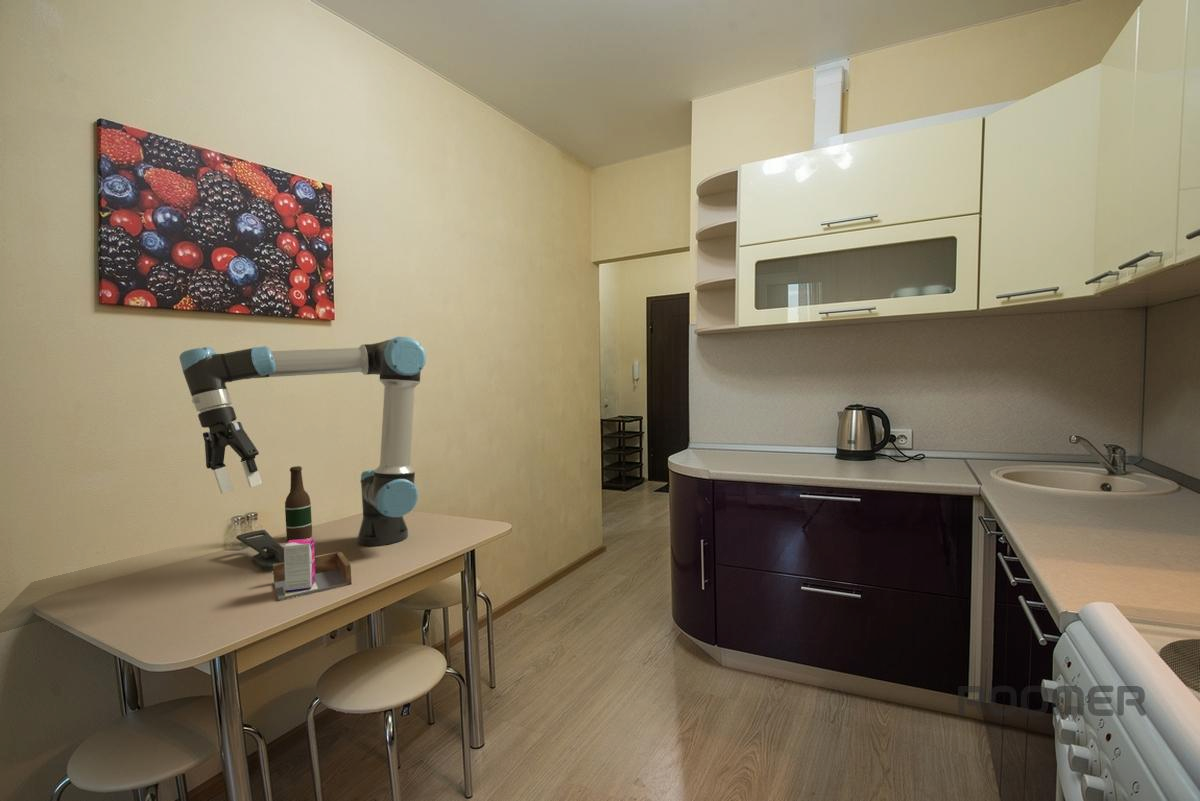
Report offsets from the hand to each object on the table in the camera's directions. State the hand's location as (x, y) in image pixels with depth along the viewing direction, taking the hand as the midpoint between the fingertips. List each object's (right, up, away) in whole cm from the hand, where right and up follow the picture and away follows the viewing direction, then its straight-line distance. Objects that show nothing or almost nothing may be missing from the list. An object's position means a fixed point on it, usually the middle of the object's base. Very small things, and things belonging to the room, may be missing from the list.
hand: (241, 488), depth 136 cm
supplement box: (+17, -24, -4) cm, 30 cm away
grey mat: (+18, -24, 0) cm, 30 cm away
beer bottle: (-8, -24, +41) cm, 48 cm away
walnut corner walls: (+18, -24, 0) cm, 30 cm away
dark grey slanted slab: (-6, -25, +20) cm, 32 cm away
